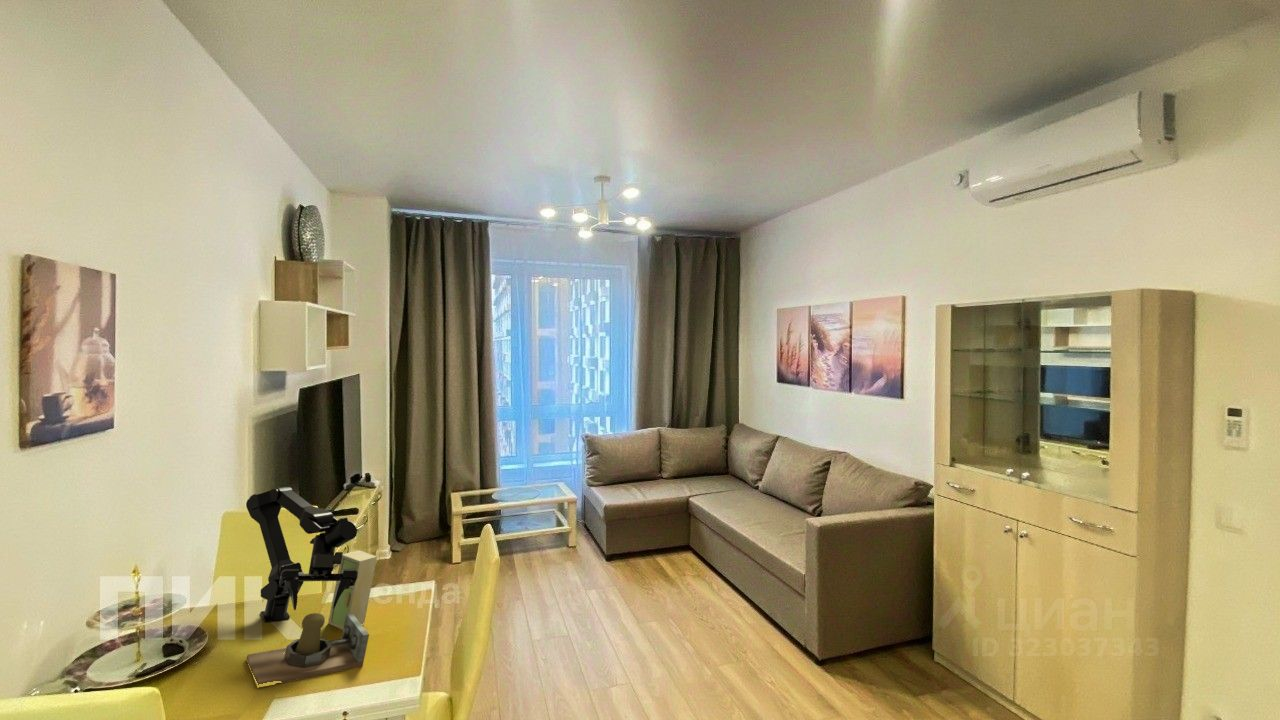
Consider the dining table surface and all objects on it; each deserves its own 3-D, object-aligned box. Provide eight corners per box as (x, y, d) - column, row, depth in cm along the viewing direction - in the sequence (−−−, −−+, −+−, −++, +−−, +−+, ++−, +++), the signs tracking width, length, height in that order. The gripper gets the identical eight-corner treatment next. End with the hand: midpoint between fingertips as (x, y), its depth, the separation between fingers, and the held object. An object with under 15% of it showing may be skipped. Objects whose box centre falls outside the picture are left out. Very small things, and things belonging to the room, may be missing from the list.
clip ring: (281, 652, 146) (285, 633, 146) (346, 641, 157) (349, 623, 158) (290, 670, 139) (294, 650, 140) (357, 657, 150) (361, 638, 151)
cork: (307, 665, 142) (315, 622, 143) (287, 659, 144) (296, 616, 144) (324, 655, 148) (332, 614, 149) (305, 649, 150) (313, 608, 150)
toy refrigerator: (324, 624, 167) (339, 554, 169) (345, 616, 174) (359, 549, 175) (343, 633, 164) (358, 561, 166) (364, 625, 171) (378, 556, 172)
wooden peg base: (245, 660, 143) (253, 627, 143) (345, 642, 159) (352, 612, 160) (257, 688, 133) (265, 652, 133) (362, 666, 149) (369, 634, 150)
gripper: (288, 539, 151) (277, 597, 141) (364, 541, 161) (358, 595, 151) (284, 558, 158) (272, 614, 148) (356, 558, 167) (350, 612, 157)
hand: (314, 608), depth 151 cm, fingers open, 9 cm apart
